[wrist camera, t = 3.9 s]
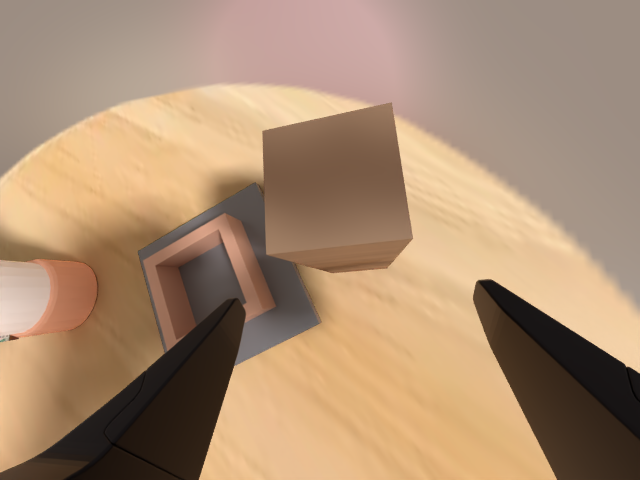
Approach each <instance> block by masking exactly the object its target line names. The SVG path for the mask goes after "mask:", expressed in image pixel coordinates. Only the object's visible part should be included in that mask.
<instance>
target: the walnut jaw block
mask: <svg viewBox="0 0 640 480" xmlns="http://www.w3.org/2000/svg"><path fill="white" fill-rule="evenodd" d="M263 165H264V198H265V232H266V255H269V256H273V257H276V258H280V259H284V260H287V261H291V262H294V263H298V264H302V265H305V266H309V267H312V268H316V269H319V270H323V271H327V272H330V273H339V272H350V271H362V270H373V269H384V268H388V266H389V265H390V264H391V263H392V262H393V261H394V260H395V258H396V257H397V256H398V255H399V254H400V253H401V252H402V250H403V249H404V248H405V247H406V246H407V245H408V244H409V242H410V241H411V240H412V239H413V236H412V229H411V223H410V217H409V210H408V204H407V197H406V191H405V185H404V178H403V172H402V166H401V159H400V153H399V146H398V140H397V134H396V127H395V121H394V115H393V108H392V103H387V104H383V105H378V106H374V107H369V108H364V109H360V110H355V111H351V112H346V113H342V114H337V115H333V116H328V117H324V118H319V119H315V120H310V121H306V122H301V123H296V124H292V125H287V126H283V127H278V128H274V129H269V130H265V131H263Z"/></svg>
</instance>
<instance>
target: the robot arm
mask: <svg viewBox="0 0 640 480" xmlns="http://www.w3.org/2000/svg"><path fill="white" fill-rule="evenodd" d="M473 301H474V304H475V307H476V310H477V313H478V315H479V318H480V321H481V323H482V326H483V329H484V332H485V334H486V337H487V340H488V342H489V345H490V347H491V349H492V351H493V353H494V355H495V357H496V359H497V361H498V363H499V365H500V367H501V369H502V371H503V373H504V375H505V377H506V379H507V381H508V383H509V385H510V387H511V389H512V391H513V393H514V395H515V397H516V399H517V401H518V403H519V405H520V407H521V409H522V411H523V413H524V415H525V417H526V419H527V421H528V423H529V425H530V427H531V429H532V431H533V433H534V435H535V436H536V438H537V440H538V442H539V444H540V446H541V448H542V450H543V452H544V454H545V456H546V458H547V460H548V462H549V464H550V466H551V468H552V470H553V472H554V474H555V476H556V478H557V480H640V373H638V372H637V371H635V370H633V369H632V368H630V367H626V366H625V364H624V363H622V362H621V361H619V360H617V359H616V358H614V357H613V356H611V355H610V354H608V353H606V352H605V351H603V350H602V349H600V348H599V347H597V346H595V345H594V344H592V343H591V342H589V341H588V340H586V339H584V338H583V337H581V336H580V335H578V334H577V333H575V332H573V331H572V330H570V329H569V328H567V327H566V326H564V325H562V324H561V323H559V322H558V321H556V320H555V319H553V318H551V317H550V316H548V315H547V314H545V313H544V312H542V311H540V310H539V309H537V308H536V307H534V306H533V305H531V304H529V303H528V302H526V301H525V300H523V299H522V298H520V297H518V296H517V295H515V294H514V293H512V292H511V291H509V290H507V289H506V288H504V287H503V286H501V285H500V284H498V283H496V282H495V281H493V280H491V279H485V280H478V281H477V282H476V285H475V290H474V295H473ZM245 318H246V311H245V309H244V307H243V305H242V303H241V302H240V300H239V299H238V298H228V299H227V300H225V301H224V302H223V303H222V304H221V305H220V306H219V307H217V308H216V309H215V310H214V311H213V312H212V313H211V314H209V315H208V316H207V317H206V318H205V319H204V320H203V321H201V322H200V323H199V324H198V325H197V326H196V327H195V328H193V329H192V330H191V331H190V332H189V333H188V334H187V335H185V336H184V337H183V338H182V339H181V340H180V341H179V342H177V343H176V344H175V345H174V346H173V347H172V348H171V349H169V350H168V351H167V352H166V353H165V354H164V355H163V356H161V357H160V358H159V359H158V360H157V361H156V362H155V363H153V364H152V365H151V366H150V367H149V368H148V369H147V370H146V371H144V372H143V373H142V374H141V375H140V376H139V377H137V378H136V379H135V380H134V381H133V382H132V383H130V384H129V385H128V386H127V387H126V388H125V389H123V390H122V391H121V392H120V393H119V394H117V395H116V396H115V397H114V398H112V399H111V400H110V401H109V402H108V403H106V404H105V405H104V406H103V407H101V408H100V409H99V410H97V411H96V412H95V413H94V414H92V415H91V416H90V417H89V418H87V419H86V420H85V421H84V422H82V423H81V424H80V425H79V426H77V427H76V428H75V429H73V430H72V431H71V432H70V433H68V434H67V435H66V436H65V437H63V438H62V439H61V440H60V441H58V442H57V443H56V444H54V445H53V446H52V447H50V448H49V449H47V450H46V451H44V452H42V453H41V454H39V455H37V456H36V457H34V458H32V459H30V460H28V461H26V462H24V463H22V464H19V465H17V466H15V467H12V468H10V469H8V470H6V471H3V472H1V473H0V480H199V477H200V474H201V471H202V468H203V465H204V461H205V458H206V455H207V452H208V448H209V445H210V442H211V439H212V436H213V432H214V429H215V426H216V423H217V419H218V416H219V413H220V410H221V407H222V403H223V400H224V397H225V394H226V390H227V387H228V384H229V381H230V378H231V374H232V371H233V368H234V365H235V361H236V358H237V355H238V351H239V347H240V343H241V338H242V333H243V328H244V323H245Z"/></svg>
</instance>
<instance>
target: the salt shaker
mask: <svg viewBox="0 0 640 480" xmlns="http://www.w3.org/2000/svg"><path fill="white" fill-rule="evenodd" d="M96 298H97V281H96V276H95V274H94V272H93V271H92V269H91V268H90V267H89V266H88V265H86V264H85V263H80V262H72V261H59V260H46V259H35V260H30V261H26V262H18V261H7V260H0V336H4V335H12V336H15V337H27V336H34V335H41V334H47V333H54V332H61V331H67V330H72V329H74V328H76V327H78V326H80V325H81V324H82V323H83V322H84V321H85V320H86V319H87V318H88V316H89V314H90V313H91V311H92V309H93V307H94V304H95V301H96Z"/></svg>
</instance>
